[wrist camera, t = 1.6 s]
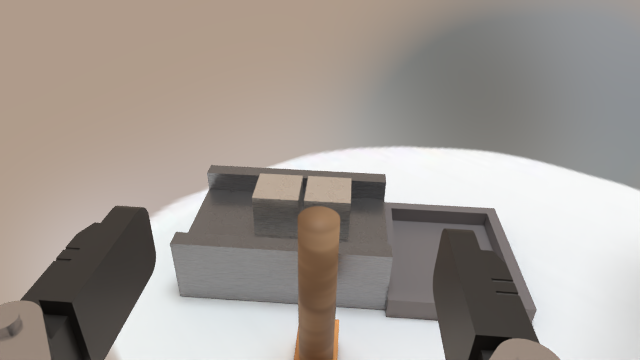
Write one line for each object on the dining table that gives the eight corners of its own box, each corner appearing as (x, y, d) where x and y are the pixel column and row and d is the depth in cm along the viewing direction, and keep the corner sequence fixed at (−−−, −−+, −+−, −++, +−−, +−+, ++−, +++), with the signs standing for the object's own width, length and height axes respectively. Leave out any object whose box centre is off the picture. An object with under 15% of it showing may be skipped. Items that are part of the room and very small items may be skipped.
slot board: (380, 221, 50) (385, 174, 47) (385, 309, 40) (392, 257, 37) (217, 211, 51) (211, 165, 48) (180, 296, 41) (169, 243, 38)
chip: (302, 210, 45) (302, 175, 43) (298, 236, 42) (298, 200, 40) (262, 208, 45) (260, 173, 43) (254, 234, 42) (251, 197, 40)
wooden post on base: (337, 345, 37) (346, 188, 29) (333, 425, 31) (344, 259, 23) (299, 342, 37) (298, 185, 29) (289, 422, 32) (284, 255, 23)
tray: (490, 223, 51) (494, 208, 49) (530, 326, 39) (536, 309, 38) (379, 217, 51) (381, 202, 50) (385, 316, 39) (388, 300, 38)
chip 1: (349, 213, 45) (351, 178, 43) (348, 239, 42) (350, 203, 39) (308, 210, 45) (308, 176, 43) (304, 237, 42) (303, 200, 40)
